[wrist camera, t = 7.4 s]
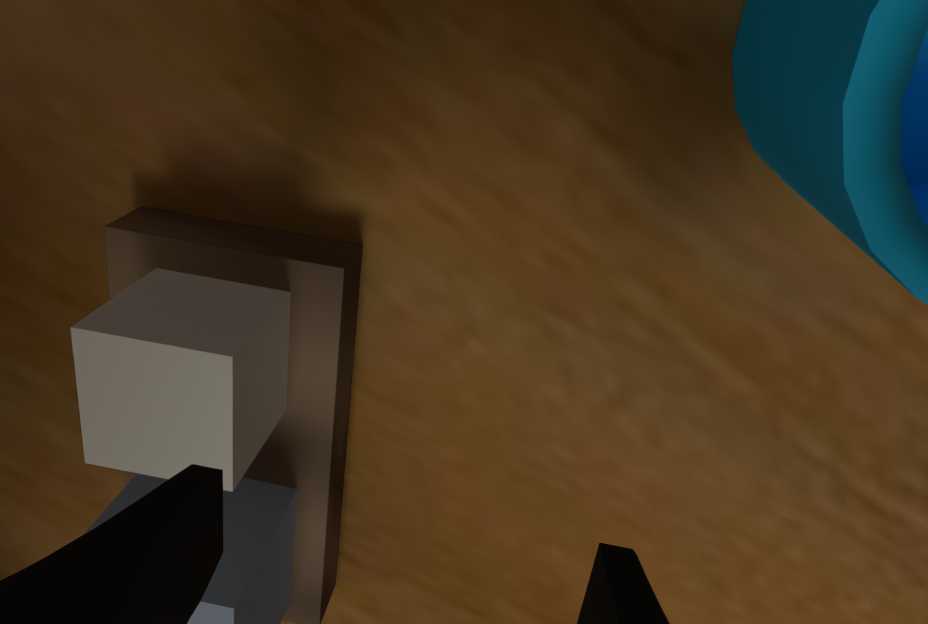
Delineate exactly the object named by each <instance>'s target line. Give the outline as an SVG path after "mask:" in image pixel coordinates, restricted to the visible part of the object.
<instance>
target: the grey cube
mask: <svg viewBox="0 0 928 624" xmlns="http://www.w3.org/2000/svg"><path fill="white" fill-rule="evenodd" d="M167 480H168V479H164V478H159V477H154V476H149V475H144V474H139V473H137V474H136V475H135V477H134V478H133V479H132V480H131V481H130V482H129V483H128V485H127V486H126V487H125V488H124V489H123V490H122V491H121V493H120V494H119V495H118V496H117V497H116V498H115V499H114V501H113V502H112V503H111V504H110V505H109V506H108V507H107V509H106V510H105V511H104V512H103V513H102V514H101V515H100V517H99V518H98V519H97V520H96V521H95V522H94V523H93V525H92V526H91V527H90V528H89V529H88V530H87V531H86V533H88V532H89V531H91V530H93V529H94V528H96V527H97V526H99V525H100V524H102V523H103V522H105V521H107V520H108V519H110V518H111V517H113V516H114V515H116V514H117V513H119V512H121V511H122V510H124V509H125V508H127V507H128V506H130V505H131V504H133V503H134V502H136V501H137V500H139V499H140V498H142V497H143V496H145V495H146V494H148V493H149V492H151V491H152V490H154V489H155V488H157V487H158V486H159V485H161V484H162V483H164V482H165V481H167ZM296 504H297V489H295V488H290V487H285V486H281V485H276V484H271V483H266V482H261V481H256V480H251V479H246V478H241V480H240V481H239V483H238V484H237V486H236V488H235V489H234V491H233V492H231V491H226V490H223V554H222V556H221V558H220V561H219V563H218V565H217V567H216V569H215V572H214V574H213V576H212V578H211V580H210V583H209V585H208V587H207V589H206V591H205V593H204V595H203V597H202V599H201V601H200V603H199V605H198V606H197V608H196V609H195V611H194V613H193V614H192V616H191V618H190V619H189V621H188V623H187V624H280V623H281V621H282V618H283V616H284V614H285V612H286V609H287V607H288V605H289V603H290V601H291V585H292V568H293V552H294V536H295V520H296ZM86 533H85V534H86Z"/></svg>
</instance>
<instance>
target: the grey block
mask: <svg viewBox="0 0 928 624" xmlns="http://www.w3.org/2000/svg"><path fill="white" fill-rule="evenodd" d="M290 298H291V292H288V291H282V290H277V289H271V288H265V287H260V286H254V285H249V284H243V283H237V282H232V281H226V280H221V279H215V278H209V277H204V276H198V275H192V274H187V273H181V272H176V271H170V270H164V269H159V268H156V269H154V270H153V271H151V272H150V273H148V274H147V275H145V276H144V277H142V278H141V279H140V280H138V281H137V282H135V283H134V284H132V285H131V286H129V287H128V288H127V289H125V290H124V291H122V292H121V293H119V294H118V295H116V296H115V297H113V298H112V299H111V300H109V301H108V302H106V303H105V304H103V305H102V306H100V307H99V308H97V309H96V310H95V311H93V312H92V313H90V314H89V315H87V316H86V317H84V318H83V319H82V320H80V321H79V322H77V323H76V324H74V325H73V326H71V327H70V328H71V337H72V346H73V356H74V365H75V374H76V384H77V393H78V402H79V412H80V421H81V430H82V439H83V449H84V458H85V463H88V464H93V465H98V466H103V467H108V468H113V469H118V470H123V471H129V472H134V473H139V474H144V475H149V476H154V477H159V478H164V479H170V478H171V477H173V476H174V475H176V474H177V473H179V472H181V471H182V470H184V469H185V468H187V467H188V466H190V465H191V464H195V465H200V466H205V467H211V468H216V469H221V470H223V490H226V491H231V492H233V491H234V489H235V488H236V486H237V484H238V483H239V481H240V480H241V478H242V477H243V475H244V474H245V472H246V471H247V469H248V468H249V466H250V465H251V463H252V462H253V460H254V459H255V457H256V455H257V454H258V452H259V451H260V449H261V448H262V446H263V445H264V443H265V442H266V440H267V439H268V437H269V436H270V434H271V433H272V431H273V430H274V428H275V426H276V425H277V423H278V422H279V420H280V419H281V417H282V416H283V414H284V413H285V411H286V408H287V381H288V353H289V326H290Z"/></svg>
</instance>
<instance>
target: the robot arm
mask: <svg viewBox="0 0 928 624" xmlns="http://www.w3.org/2000/svg"><path fill="white" fill-rule="evenodd" d="M222 554H223V470H221V469H216V468H211V467H205V466H200V465H195V464H191V465H190V466H188V467H187V468H185V469H184V470H182V471H181V472H179V473H177V474H176V475H174V476H173V477H171V478H170V479H168V480H167V481H165V482H164V483H162V484H161V485H159V486H158V487H157V488H155V489H154V490H152V491H151V492H149V493H148V494H146V495H145V496H143V497H142V498H140V499H139V500H137V501H136V502H134V503H133V504H131V505H130V506H128V507H127V508H125V509H124V510H122V511H121V512H119V513H117V514H116V515H114V516H113V517H111V518H110V519H108V520H107V521H105V522H103V523H102V524H100V525H99V526H97V527H96V528H94V529H93V530H91V531H89V532H88V533H86V534H84V535H83V536H81V537H79V538H77V539H76V540H74V541H72V542H71V543H69V544H67V545H66V546H64V547H62V548H61V549H59V550H57V551H55V552H54V553H52V554H50V555H49V556H47V557H45V558H43V559H42V560H40V561H38V562H36V563H34V564H32V565H30V566H29V567H27V568H25V569H23V570H21V571H19V572H17V573H15V574H13V575H11V576H9V577H7V578H5V579H3V580H1V581H0V624H187V623H188V621H189V619H190V618H191V616H192V614H193V613H194V611H195V609H196V608H197V606H198V605H199V603H200V601H201V599H202V597H203V595H204V593H205V591H206V589H207V587H208V585H209V583H210V580H211V578H212V576H213V574H214V572H215V569H216V567H217V565H218V563H219V561H220V558H221V556H222ZM577 624H669V622H668V620H667V618H666V616H665V614H664V612H663V610H662V608H661V606H660V604H659V602H658V600H657V598H656V596H655V594H654V592H653V590H652V587H651V585H650V583H649V581H648V579H647V577H646V575H645V572H644V570H643V568H642V566H641V563H640V561H639V559H638V556H637V555H636V553H635V552H634V550H633V549H629V548H624V547H619V546H614V545H608V544H603V543H599V547H598V550H597V554H596V558H595V561H594V565H593V568H592V572H591V575H590V579H589V583H588V586H587V590H586V593H585V597H584V600H583V604H582V608H581V611H580V615H579V618H578V622H577Z"/></svg>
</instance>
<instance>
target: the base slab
mask: <svg viewBox="0 0 928 624" xmlns="http://www.w3.org/2000/svg"><path fill="white" fill-rule="evenodd" d="M104 234H105V247H106V259H107V272H108V284H109V297H110V300H111V299H112V298H113V297H115V296H116V295H118V294H119V293H121V292H122V291H124V290H125V289H127V288H128V287H129V286H131V285H132V284H134V283H135V282H137V281H138V280H140V279H141V278H142V277H144V276H145V275H147V274H148V273H150V272H151V271H153V270H154V269H156V268H159V269H164V270H170V271H176V272H181V273H187V274H192V275H198V276H204V277H209V278H215V279H221V280H226V281H232V282H237V283H243V284H249V285H254V286H260V287H265V288H271V289H277V290H282V291H288V292H291V298H290V326H289V353H288V381H287V408H286V411H285V413H284V414H283V416H282V417H281V419H280V420H279V422H278V423H277V425H276V426H275V428H274V430H273V431H272V433H271V434H270V436H269V437H268V439H267V440H266V442H265V443H264V445H263V446H262V448H261V449H260V451H259V452H258V454H257V455H256V457H255V459H254V460H253V462H252V463H251V465H250V466H249V468H248V469H247V471H246V472H245V474H244V475H243V477H242V478H246V479H251V480H256V481H261V482H266V483H271V484H276V485H281V486H285V487H290V488H295V489H297V504H296V520H295V536H294V552H293V568H292V585H291V601H290V603H289V605H288V607H287V609H286V612H285V614H284V616H283V618H282V620H285V621H290V622H295V623H300V624H321V621H322V619H323V616H324V613H325V611H326V608H327V606H328V603H329V600H330V598H331V595H332V593H333V590H334V587H335V580H336V568H337V556H338V543H339V531H340V518H341V506H342V493H343V481H344V468H345V456H346V443H347V431H348V418H349V406H350V393H351V381H352V368H353V356H354V343H355V331H356V318H357V306H358V293H359V281H360V269H361V256H362V245H357V244H352V243H346V242H340V241H334V240H328V239H323V238H317V237H311V236H305V235H300V234H294V233H288V232H282V231H276V230H271V229H265V228H259V227H253V226H248V225H242V224H236V223H230V222H224V221H219V220H213V219H207V218H201V217H196V216H190V215H184V214H178V213H173V212H167V211H161V210H155V209H149V208H144V207H140V208H138V209H137V210H135V211H133V212H131V213H129V214H127V215H125V216H123V217H121V218H119V219H117V220H115V221H113V222H112V223H110V224H108V225H106V226H104ZM136 474H137V473H134V472H129V471H124V484H125V487H126V486H127V485H128V483H129V482H130V481H131V480H132V479H133V478H134V477H135V475H136Z"/></svg>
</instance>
